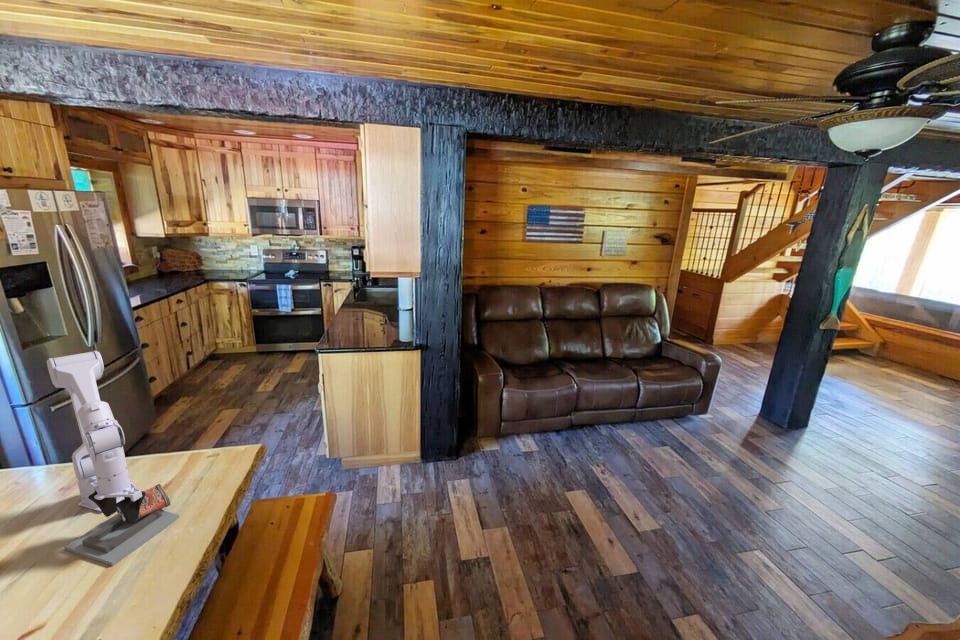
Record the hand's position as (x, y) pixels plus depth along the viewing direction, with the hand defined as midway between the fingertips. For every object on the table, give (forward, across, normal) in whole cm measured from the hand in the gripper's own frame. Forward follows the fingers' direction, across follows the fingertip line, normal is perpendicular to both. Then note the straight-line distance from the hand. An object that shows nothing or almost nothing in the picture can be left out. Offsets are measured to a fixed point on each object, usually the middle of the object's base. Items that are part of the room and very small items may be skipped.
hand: (122, 517), depth 98 cm
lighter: (+1, 0, +10) cm, 11 cm away
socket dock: (+5, 0, 0) cm, 5 cm away
